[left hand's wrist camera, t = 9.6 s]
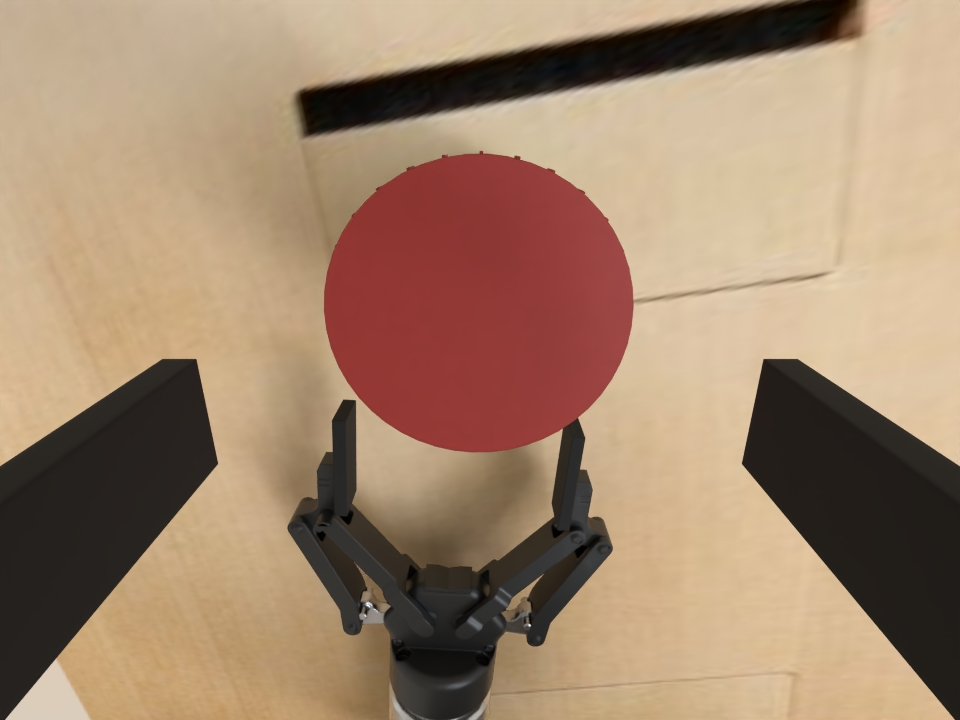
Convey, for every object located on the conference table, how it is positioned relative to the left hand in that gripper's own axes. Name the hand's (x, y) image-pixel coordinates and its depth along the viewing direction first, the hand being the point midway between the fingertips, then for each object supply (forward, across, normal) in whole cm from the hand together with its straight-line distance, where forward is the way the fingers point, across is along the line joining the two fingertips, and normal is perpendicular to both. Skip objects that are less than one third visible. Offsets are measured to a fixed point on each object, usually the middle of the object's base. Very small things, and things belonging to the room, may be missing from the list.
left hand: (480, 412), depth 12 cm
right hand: (+17, +1, +9) cm, 19 cm away
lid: (+8, 0, 0) cm, 8 cm away
